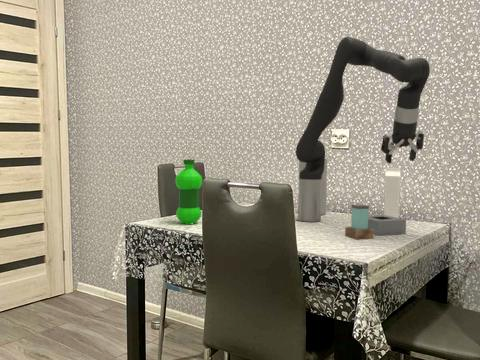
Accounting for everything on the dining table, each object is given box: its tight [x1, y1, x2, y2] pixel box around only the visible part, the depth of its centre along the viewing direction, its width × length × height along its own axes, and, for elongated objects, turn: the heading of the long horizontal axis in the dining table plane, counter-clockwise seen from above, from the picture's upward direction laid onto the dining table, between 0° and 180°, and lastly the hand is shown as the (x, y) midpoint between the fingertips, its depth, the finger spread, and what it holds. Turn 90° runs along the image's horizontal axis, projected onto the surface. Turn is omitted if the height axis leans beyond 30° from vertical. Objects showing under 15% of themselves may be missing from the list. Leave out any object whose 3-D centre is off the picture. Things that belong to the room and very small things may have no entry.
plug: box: [350, 203, 370, 230], centre depth 162 cm, size 4×4×11 cm
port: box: [368, 214, 407, 237], centre depth 173 cm, size 12×12×5 cm
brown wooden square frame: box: [344, 226, 375, 240], centre depth 163 cm, size 7×7×3 cm
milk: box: [383, 167, 402, 218], centre depth 199 cm, size 6×6×22 cm
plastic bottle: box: [174, 158, 203, 225], centre depth 186 cm, size 10×10×25 cm
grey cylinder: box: [297, 158, 328, 216], centre depth 215 cm, size 12×12×25 cm
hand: (400, 161), depth 168 cm, fingers open, 8 cm apart
